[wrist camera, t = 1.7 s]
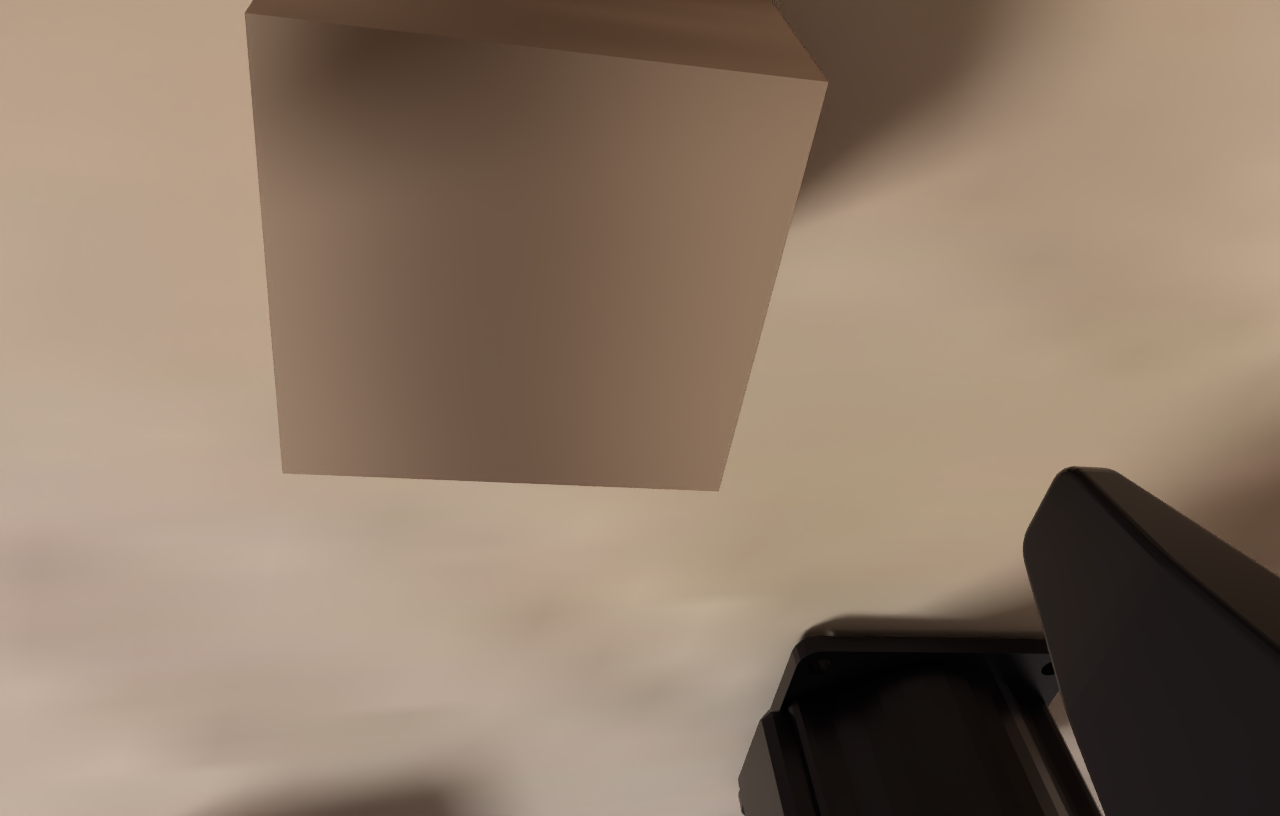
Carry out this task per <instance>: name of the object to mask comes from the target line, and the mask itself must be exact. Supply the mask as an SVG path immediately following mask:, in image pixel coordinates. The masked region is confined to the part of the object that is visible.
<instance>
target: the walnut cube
mask: <svg viewBox="0 0 1280 816" xmlns="http://www.w3.org/2000/svg"><path fill="white" fill-rule="evenodd" d="M245 21H246V33H247V46H248V58H249V70H250V82H251V94H252V106H253V118H254V131H255V143H256V155H257V167H258V179H259V191H260V203H261V215H262V228H263V240H264V252H265V264H266V276H267V288H268V300H269V313H270V325H271V337H272V349H273V361H274V373H275V385H276V397H277V410H278V422H279V434H280V446H281V458H282V470H283V473H290V474H314V475H338V476H362V477H386V478H410V479H435V480H459V481H483V482H507V483H531V484H555V485H579V486H603V487H628V488H652V489H676V490H700V491H719V488H720V484H721V480H722V477H723V473H724V469H725V465H726V462H727V458H728V454H729V451H730V447H731V443H732V439H733V436H734V432H735V428H736V425H737V421H738V417H739V413H740V410H741V406H742V402H743V399H744V395H745V391H746V387H747V384H748V380H749V376H750V373H751V369H752V365H753V361H754V358H755V354H756V350H757V347H758V343H759V339H760V335H761V332H762V328H763V324H764V321H765V317H766V313H767V309H768V306H769V302H770V298H771V295H772V291H773V287H774V283H775V280H776V276H777V272H778V269H779V265H780V261H781V257H782V254H783V250H784V246H785V243H786V239H787V235H788V231H789V228H790V224H791V220H792V217H793V213H794V209H795V205H796V202H797V198H798V194H799V191H800V187H801V183H802V179H803V176H804V172H805V168H806V165H807V161H808V157H809V153H810V150H811V146H812V142H813V139H814V135H815V131H816V127H817V124H818V120H819V116H820V113H821V109H822V105H823V101H824V98H825V94H826V90H827V87H828V83H829V82H828V80H827V79H826V78H825V76H824V75H823V73H822V72H821V71H820V69H819V68H818V66H817V65H816V63H815V62H814V61H813V59H812V58H811V56H810V55H809V54H808V52H807V51H806V49H805V48H804V46H803V45H802V44H801V42H800V41H799V39H798V38H797V37H796V35H795V34H794V32H793V31H792V30H791V28H790V27H789V25H788V24H787V22H786V21H785V20H784V18H783V17H782V15H781V14H780V13H779V11H778V10H777V8H776V7H775V5H774V4H773V3H772V1H771V0H253V1H252V3H251V4H250V6H249V7H248V9H247V10H246V12H245Z"/></svg>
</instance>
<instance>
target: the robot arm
mask: <svg viewBox="0 0 1280 816" xmlns="http://www.w3.org/2000/svg"><path fill="white" fill-rule="evenodd" d="M1023 557H1024V563H1025V566H1026V570H1027V574H1028V577H1029V581H1030V585H1031V588H1032V592H1033V596H1034V599H1035V603H1036V607H1037V610H1038V614H1039V617H1040V621H1041V625H1042V628H1043V632H1044V636H1045V639H981V638H912V637H843V636H817V637H810V638H808V639H805V640H803V641H801V642H800V643H798V644H797V645H796V646H795V648H794V649H793V651H792V653H791V656H790V658H789V661H788V663H787V666H786V669H785V671H784V674H783V677H782V679H781V682H780V685H779V687H778V690H777V693H776V695H775V698H774V701H773V703H772V706H771V709H770V710H768V712H767V713H766V714H765V715H764V716H763V717H762V719H761V720H760V721H759V724H758V727H757V730H756V732H755V735H754V738H753V740H752V743H751V746H750V748H749V751H748V754H747V756H746V759H745V762H744V765H743V767H742V770H741V773H740V775H739V779H738V782H739V787H740V791H739V802H740V807H741V812H742V813H743V814H744V815H745V816H1102V814H1101V812H1100V810H1099V808H1098V806H1097V804H1096V802H1095V800H1094V798H1093V796H1092V794H1091V792H1090V790H1089V788H1088V786H1087V784H1086V782H1085V780H1084V778H1083V776H1082V774H1081V772H1080V770H1079V768H1078V766H1077V764H1076V762H1075V760H1074V758H1073V756H1072V754H1071V752H1070V750H1069V748H1068V746H1067V744H1066V742H1065V740H1064V738H1063V736H1062V734H1061V732H1060V730H1059V728H1058V726H1057V724H1056V722H1055V720H1054V718H1053V716H1052V714H1051V712H1050V710H1049V708H1048V706H1049V704H1050V703H1051V701H1052V700H1053V698H1054V696H1055V695H1056V693H1057V692H1058V690H1060V694H1061V697H1062V700H1063V703H1064V707H1065V710H1066V713H1067V716H1068V719H1069V722H1070V724H1071V727H1072V730H1073V733H1074V736H1075V738H1076V741H1077V744H1078V746H1079V749H1080V751H1081V754H1082V756H1083V759H1084V762H1085V764H1086V767H1087V769H1088V772H1089V774H1090V777H1091V780H1092V782H1093V785H1094V787H1095V790H1096V792H1097V795H1098V798H1099V800H1100V803H1101V805H1102V808H1103V810H1104V813H1105V816H1280V577H1279V576H1277V575H1276V574H1274V573H1272V572H1271V571H1269V570H1268V569H1266V568H1265V567H1263V566H1262V565H1260V564H1259V563H1257V562H1255V561H1254V560H1252V559H1251V558H1249V557H1248V556H1246V555H1245V554H1243V553H1242V552H1240V551H1238V550H1237V549H1235V548H1234V547H1232V546H1231V545H1229V544H1228V543H1226V542H1225V541H1223V540H1221V539H1220V538H1218V537H1217V536H1215V535H1214V534H1212V533H1211V532H1209V531H1208V530H1206V529H1204V528H1203V527H1201V526H1200V525H1198V524H1197V523H1195V522H1194V521H1192V520H1191V519H1189V518H1187V517H1186V516H1184V515H1183V514H1181V513H1180V512H1178V511H1177V510H1175V509H1174V508H1172V507H1170V506H1169V505H1167V504H1166V503H1164V502H1163V501H1161V500H1160V499H1158V498H1157V497H1155V496H1153V495H1152V494H1150V493H1149V492H1147V491H1146V490H1144V489H1143V488H1141V487H1140V486H1138V485H1136V484H1135V483H1133V482H1132V481H1130V480H1129V479H1127V478H1126V477H1124V476H1123V475H1121V474H1119V473H1118V472H1116V471H1114V470H1111V469H1107V468H1097V467H1077V466H1073V467H1068V468H1065V469H1063V470H1062V471H1061V472H1059V473H1058V474H1057V475H1056V477H1055V478H1054V480H1053V481H1052V483H1051V485H1050V487H1049V489H1048V491H1047V493H1046V495H1045V497H1044V498H1043V500H1042V502H1041V504H1040V506H1039V508H1038V510H1037V512H1036V513H1035V515H1034V517H1033V519H1032V521H1031V523H1030V525H1029V527H1028V529H1027V531H1026V533H1025V537H1024V541H1023Z"/></svg>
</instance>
